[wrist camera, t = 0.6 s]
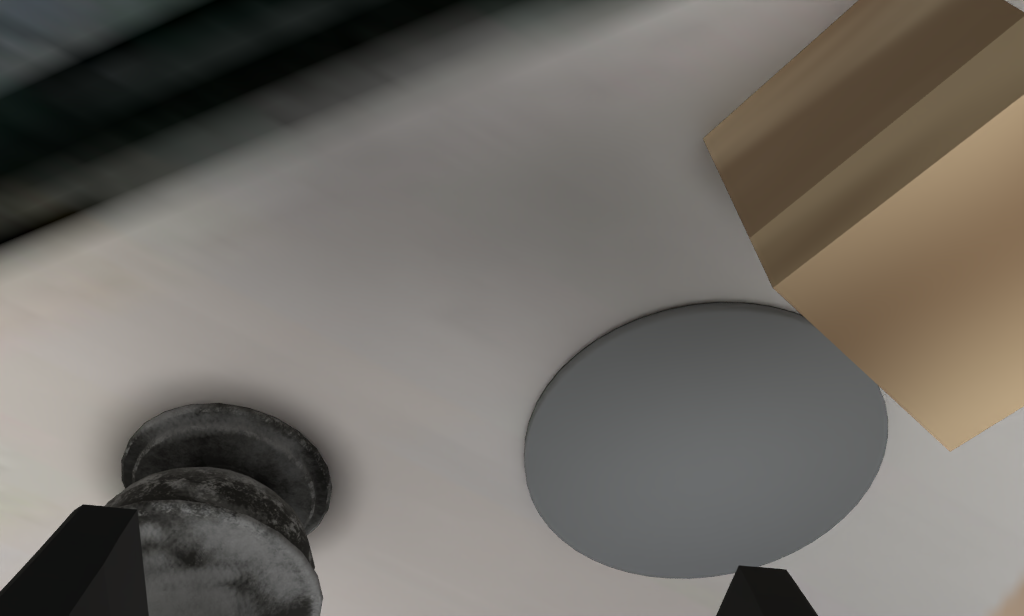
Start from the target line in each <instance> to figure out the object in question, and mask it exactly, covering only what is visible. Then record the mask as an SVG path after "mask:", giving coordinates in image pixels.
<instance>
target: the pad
mask: <svg viewBox="0 0 1024 616" xmlns="http://www.w3.org/2000/svg"><path fill="white" fill-rule="evenodd" d="M887 438H888V417H887V412H886V406H885V402H884V399H883V396H882V394H881V391H880V389H879V386H878V385H877V384H876V383H875V382H874V381H873V380H872V379H871V378H870V377H869V376H868V375H867V374H865V373H864V372H863V371H862V370H861V369H860V368H859V367H858V366H857V365H856V364H855V363H854V362H852V361H851V360H850V359H849V358H848V357H847V356H846V355H845V354H844V353H843V352H842V351H841V350H839V349H838V348H837V347H836V346H835V345H834V344H833V343H832V342H831V341H830V340H829V339H828V338H826V337H825V336H824V335H823V334H822V333H821V332H820V331H819V330H818V329H817V328H816V327H815V326H813V325H812V324H811V323H810V322H809V321H808V320H807V319H806V318H805V317H803V316H801V315H798V314H796V313H793V312H789V311H785V310H781V309H778V308H774V307H770V306H762V305H755V304H747V303H710V304H699V305H691V306H685V307H680V308H675V309H670V310H666V311H663V312H659V313H656V314H653V315H650V316H646V317H643V318H640V319H638V320H636V321H633V322H631V323H629V324H626V325H624V326H622V327H619V328H617V329H616V330H614V331H612V332H610V333H609V334H607V335H605V336H603V337H601V338H600V339H598V340H596V341H595V342H594V343H592V344H591V345H589V346H588V347H587V348H585V349H584V350H583V351H581V352H580V353H578V354H577V355H576V356H575V357H574V358H573V359H572V360H571V361H570V362H569V363H567V364H566V365H565V366H564V367H563V368H562V369H561V370H560V371H559V373H558V374H557V375H556V376H555V377H554V379H553V380H552V381H551V382H550V383H549V385H548V386H547V387H546V389H545V391H544V392H543V394H542V396H541V397H540V399H539V401H538V402H537V404H536V406H535V409H534V411H533V414H532V416H531V418H530V421H529V425H528V429H527V433H526V438H525V452H524V461H525V473H526V481H527V486H528V489H529V492H530V496H531V499H532V501H533V503H534V505H535V507H536V509H537V511H538V513H539V514H540V516H541V517H542V519H543V520H544V521H545V523H546V524H547V525H548V527H549V528H550V529H551V530H552V531H553V532H554V533H555V534H556V535H557V536H558V537H559V538H560V539H561V540H562V541H564V542H565V543H567V544H568V545H569V546H571V547H572V548H573V549H575V550H576V551H578V552H579V553H581V554H583V555H585V556H587V557H588V558H590V559H592V560H594V561H597V562H599V563H601V564H604V565H606V566H609V567H612V568H615V569H618V570H622V571H625V572H628V573H634V574H639V575H644V576H650V577H660V578H687V579H690V578H703V577H714V576H720V575H726V574H732V573H735V572H736V570H737V568H738V566H739V565H741V566H752V567H758V566H761V565H764V564H767V563H770V562H773V561H776V560H778V559H780V558H782V557H785V556H787V555H789V554H791V553H794V552H795V551H797V550H799V549H801V548H803V547H804V546H806V545H808V544H810V543H812V542H813V541H815V540H816V539H818V538H819V537H820V536H822V535H823V534H825V533H826V532H828V531H829V530H830V529H832V528H833V527H834V526H835V525H836V524H837V523H839V522H840V521H841V520H842V519H843V518H844V517H845V516H846V515H847V514H848V513H849V512H850V511H851V510H852V509H853V508H854V507H855V506H856V505H857V504H858V502H859V501H860V500H861V498H862V497H863V496H864V494H865V493H866V492H867V490H868V489H869V487H870V486H871V484H872V482H873V480H874V478H875V476H876V475H877V473H878V471H879V468H880V465H881V462H882V460H883V457H884V454H885V449H886V443H887Z"/></svg>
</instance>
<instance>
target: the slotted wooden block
mask: <svg viewBox="0 0 1024 616" xmlns="http://www.w3.org/2000/svg"><path fill="white" fill-rule="evenodd" d="M703 140H704V142H705V144H706V146H707V149H708V151H709V153H710V155H711V157H712V159H713V161H714V163H715V166H716V168H717V170H718V172H719V174H720V176H721V178H722V181H723V183H724V185H725V187H726V189H727V191H728V193H729V195H730V198H731V200H732V202H733V204H734V206H735V208H736V210H737V213H738V215H739V217H740V219H741V221H742V223H743V225H744V227H745V230H746V232H747V234H748V236H749V238H750V240H751V242H752V245H753V247H754V249H755V251H756V253H757V255H758V257H759V259H760V262H761V264H762V266H763V268H764V270H765V272H766V274H767V276H768V279H769V281H770V283H771V285H772V287H773V289H775V290H776V291H777V292H778V293H779V294H780V295H781V296H782V297H783V298H784V299H785V300H786V301H788V302H789V303H790V304H791V305H792V306H793V307H794V308H795V309H796V310H797V311H798V312H799V313H801V314H802V315H803V316H804V317H805V318H806V319H807V320H808V321H809V322H810V323H811V324H812V325H813V326H815V327H816V328H817V329H818V330H819V331H820V332H821V333H822V334H823V335H824V336H825V337H826V338H828V339H829V340H830V341H831V342H832V343H833V344H834V345H835V346H836V347H837V348H838V349H839V350H841V351H842V352H843V353H844V354H845V355H846V356H847V357H848V358H849V359H850V360H851V361H852V362H854V363H855V364H856V365H857V366H858V367H859V368H860V369H861V370H862V371H863V372H864V373H865V374H867V375H868V376H869V377H870V378H871V379H872V380H873V381H874V382H875V383H876V384H877V385H878V386H880V387H881V388H882V389H883V390H884V391H885V392H886V393H887V394H888V395H889V396H890V397H891V398H893V399H894V400H895V401H896V402H897V403H898V404H899V405H900V406H901V407H902V408H903V409H904V410H906V411H907V412H908V413H909V414H910V415H911V416H912V417H913V418H914V419H915V420H916V421H917V422H919V423H920V424H921V425H922V426H923V427H924V428H925V429H926V430H927V431H928V432H929V433H930V434H931V435H933V436H934V437H935V438H936V439H937V440H938V441H939V442H940V443H941V444H942V445H943V446H944V447H946V448H947V449H948V450H949V451H950V452H951V451H952V450H954V449H955V448H957V447H959V446H960V445H962V444H963V443H965V442H967V441H968V440H970V439H972V438H973V437H975V436H976V435H978V434H980V433H981V432H983V431H984V430H986V429H988V428H989V427H991V426H993V425H994V424H996V423H997V422H999V421H1001V420H1002V419H1004V418H1005V417H1007V416H1009V415H1010V414H1012V413H1014V412H1015V411H1017V410H1018V409H1020V408H1022V407H1023V406H1024V12H1023V11H1021V10H1019V9H1018V8H1016V7H1014V6H1013V5H1011V4H1009V3H1008V2H1006V1H1005V0H859V1H857V2H856V3H855V4H854V5H853V6H852V7H851V8H849V9H848V10H847V11H846V12H845V13H844V14H843V15H842V16H840V17H839V18H838V19H837V20H836V21H835V22H834V23H833V24H831V25H830V26H829V27H828V28H827V29H826V30H825V31H824V32H822V33H821V34H820V35H819V36H818V37H817V38H816V39H815V40H813V41H812V42H811V43H810V44H809V45H808V46H807V47H806V48H804V49H803V50H802V51H801V52H800V53H799V54H798V55H797V56H795V57H794V58H793V59H792V60H791V61H790V62H789V63H788V64H786V65H785V66H784V67H783V68H782V69H781V70H780V71H779V72H777V73H776V74H775V75H774V76H773V77H772V78H771V79H770V80H768V81H767V82H766V83H765V84H764V85H763V86H762V87H761V88H759V89H758V90H757V91H756V92H755V93H754V94H753V95H751V96H750V97H749V98H748V99H747V100H746V101H745V102H744V103H742V104H741V105H740V106H739V107H738V108H737V109H736V110H735V111H733V112H732V113H731V114H730V115H729V116H728V117H727V118H726V119H724V120H723V121H722V122H721V123H720V124H719V125H718V126H717V127H715V128H714V129H713V130H712V131H711V132H710V133H709V134H708V135H706V136H705V137H704V138H703Z"/></svg>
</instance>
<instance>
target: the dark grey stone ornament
mask: <svg viewBox="0 0 1024 616" xmlns="http://www.w3.org/2000/svg"><path fill="white" fill-rule="evenodd" d="M122 481H123V484H124V486H125V490H123V491H122V492H121V493H119V494H118V495H117V496H116V497H114V498H113V499H112V500H111V501H109V502H108V503H107V504H106V505H105V507H116V508H127V509H137V510H138V519H139V528H140V538H141V547H142V556H143V566H144V575H145V584H146V593H147V603H148V612H149V616H320V612H321V606H322V600H323V595H322V591H321V587H320V583H319V579H318V575H317V574H316V572H315V571H314V569H315V566H314V562H313V558H312V553H311V549H310V546H309V542H308V539H307V535H308V534H309V533H310V532H312V531H313V530H314V529H315V528H316V527H317V526H318V525H319V524H320V522H321V521H322V519H323V517H324V515H325V514H326V512H327V510H328V508H329V502H330V496H331V490H332V485H331V481H330V476H329V471H328V467H327V466H326V464H325V462H324V461H323V459H322V457H321V456H320V454H319V452H318V450H317V449H316V448H315V447H314V446H313V445H312V444H311V443H310V442H309V441H308V440H307V439H306V438H305V437H304V436H303V435H302V434H301V433H300V432H298V431H297V430H295V429H293V428H292V427H290V426H288V425H287V424H285V423H283V422H282V421H280V420H278V419H277V418H275V417H272V416H269V415H266V414H264V413H261V412H258V411H255V410H252V409H250V408H245V407H238V406H232V405H225V404H197V405H188V406H184V407H181V408H177V409H173V410H169V411H165V412H164V413H162V414H160V415H158V416H156V417H155V418H153V419H151V420H149V421H148V422H146V423H144V424H143V426H142V427H141V428H140V429H139V430H138V431H137V432H136V433H135V434H134V435H133V436H132V438H131V439H130V440H129V443H128V445H127V448H126V450H125V453H124V455H123V458H122Z"/></svg>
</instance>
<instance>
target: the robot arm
mask: <svg viewBox="0 0 1024 616" xmlns="http://www.w3.org/2000/svg"><path fill="white" fill-rule="evenodd" d="M0 616H149V612H148V603H147V593H146V584H145V575H144V566H143V556H142V547H141V538H140V528H139V519H138V510H137V509H127V508H116V507H105V506H94V505H81V506H80V507H78V508H77V509H75V510H74V511H73V512H72V513H71V514H70V515H69V517H68V518H67V519H66V520H65V521H64V522H63V523H62V524H61V526H60V527H59V528H58V529H57V530H56V531H55V532H54V534H53V535H52V536H51V537H50V538H49V539H48V540H47V541H46V542H45V544H44V545H43V546H42V547H41V548H40V549H39V550H38V551H37V552H36V554H35V555H34V556H33V557H32V558H31V559H30V560H29V561H28V562H27V563H26V564H25V566H24V567H23V568H22V569H21V570H20V571H19V572H18V573H17V574H16V575H15V576H14V577H13V578H12V580H11V581H10V582H9V583H8V584H7V585H6V586H5V587H4V588H3V589H2V590H1V591H0ZM716 616H818V615H817V613H816V612H815V611H814V609H813V608H812V606H811V605H810V603H809V602H808V600H807V599H806V597H805V596H804V594H803V593H802V592H801V590H800V589H799V587H798V586H797V584H796V583H795V581H794V580H793V579H792V577H791V576H790V574H789V573H788V572H787V570H784V569H774V568H763V567H752V566H741V565H739V566H738V568H737V570H736V572H735V575H734V577H733V579H732V581H731V584H730V586H729V588H728V590H727V593H726V595H725V597H724V599H723V602H722V604H721V606H720V608H719V611H718V613H717V615H716Z"/></svg>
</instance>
